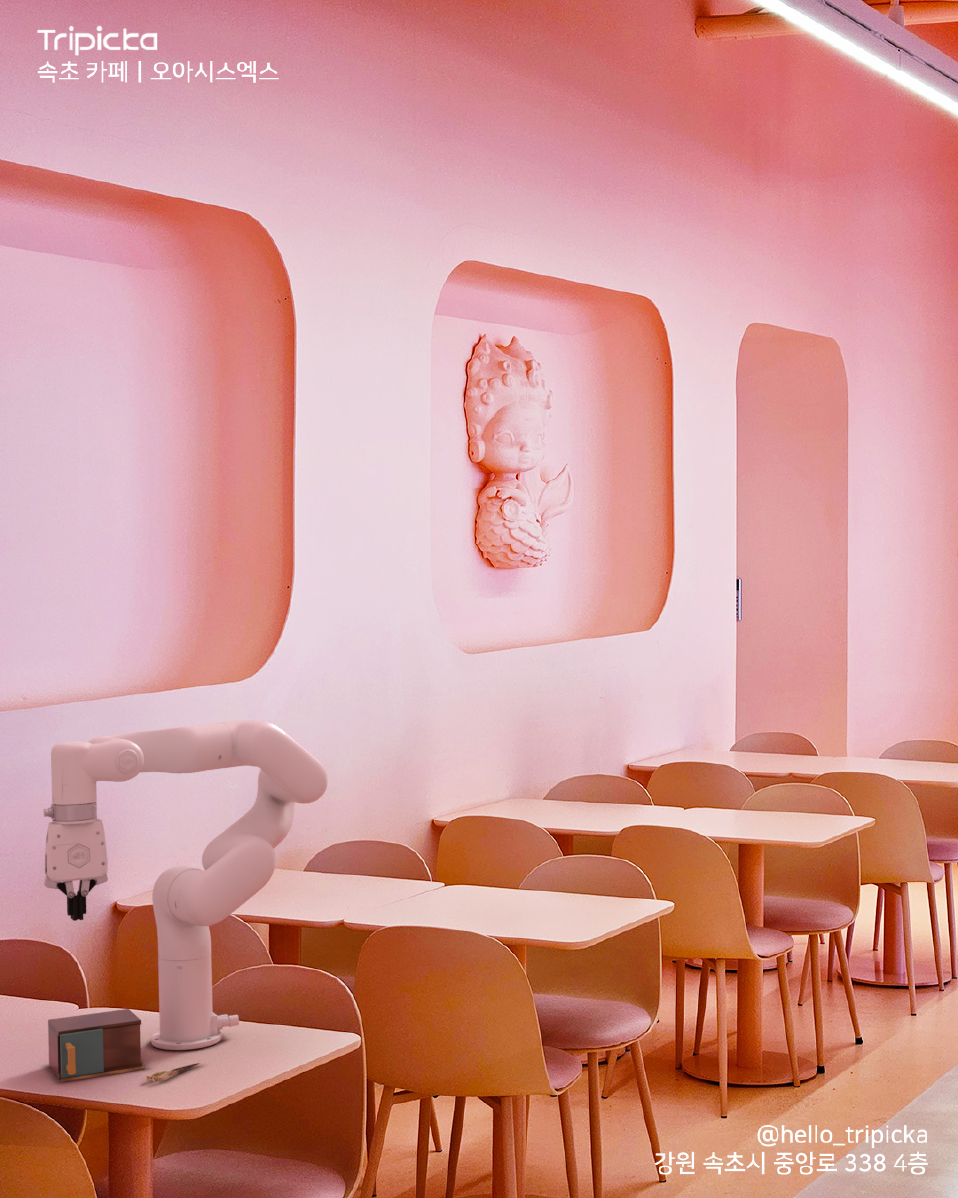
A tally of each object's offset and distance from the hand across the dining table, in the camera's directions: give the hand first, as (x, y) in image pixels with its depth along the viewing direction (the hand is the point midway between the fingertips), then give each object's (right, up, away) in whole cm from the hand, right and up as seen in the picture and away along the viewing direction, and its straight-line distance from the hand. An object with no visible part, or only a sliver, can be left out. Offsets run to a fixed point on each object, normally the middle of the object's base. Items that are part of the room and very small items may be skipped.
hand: (76, 919), depth 266 cm
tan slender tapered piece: (+19, -25, -8) cm, 32 cm away
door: (+4, -25, -10) cm, 27 cm away
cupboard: (+4, -25, -2) cm, 25 cm away
